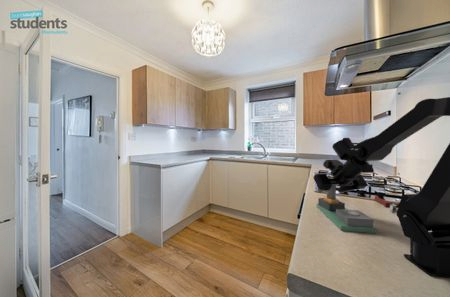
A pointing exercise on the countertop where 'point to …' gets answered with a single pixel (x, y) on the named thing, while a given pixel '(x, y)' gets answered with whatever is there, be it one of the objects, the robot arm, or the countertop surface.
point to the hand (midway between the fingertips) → (328, 191)
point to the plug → (331, 195)
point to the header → (331, 205)
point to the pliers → (386, 203)
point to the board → (342, 225)
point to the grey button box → (354, 218)
